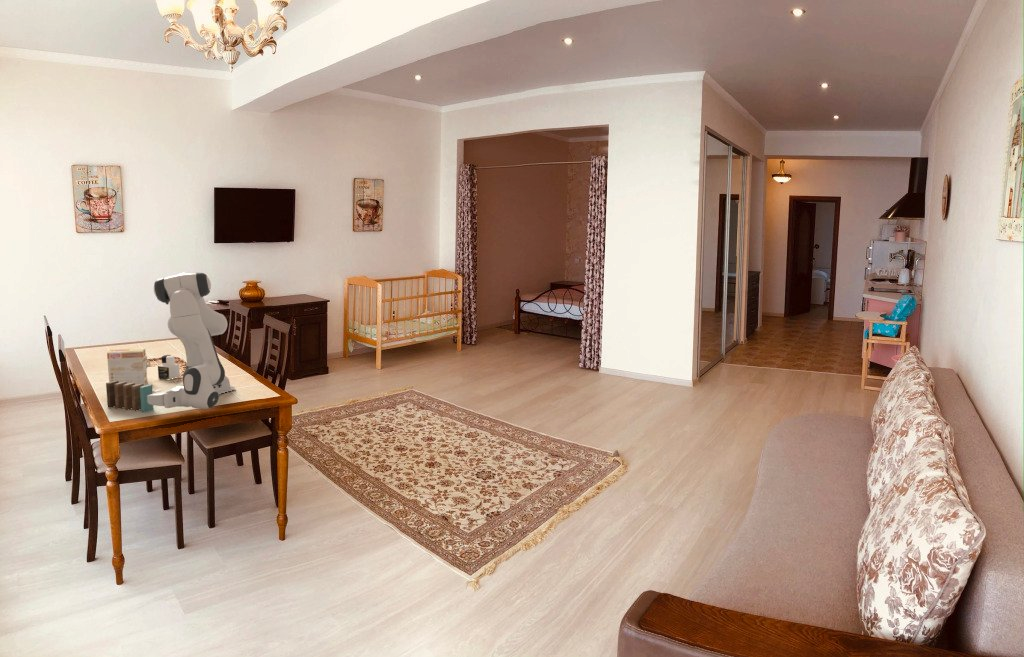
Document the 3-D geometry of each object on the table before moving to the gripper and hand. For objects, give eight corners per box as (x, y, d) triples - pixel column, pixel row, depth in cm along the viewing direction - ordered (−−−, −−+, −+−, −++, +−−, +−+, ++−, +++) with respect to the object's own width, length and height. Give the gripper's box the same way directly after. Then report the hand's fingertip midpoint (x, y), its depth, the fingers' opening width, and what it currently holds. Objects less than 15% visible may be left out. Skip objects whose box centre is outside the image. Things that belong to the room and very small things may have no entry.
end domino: (120, 404, 297) (118, 380, 295) (110, 407, 292) (108, 383, 290) (117, 404, 297) (115, 380, 295) (107, 407, 292) (105, 383, 291)
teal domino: (153, 409, 292) (152, 384, 290) (144, 412, 287) (142, 387, 285) (150, 408, 292) (149, 384, 291) (141, 411, 288) (139, 387, 286)
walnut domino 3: (145, 408, 293) (143, 383, 291) (135, 411, 288) (134, 386, 287) (142, 407, 294) (140, 383, 292) (132, 410, 289) (131, 386, 287)
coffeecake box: (148, 387, 326) (145, 348, 323) (145, 391, 320) (142, 351, 316) (113, 389, 322) (110, 349, 318) (109, 393, 315) (106, 352, 312)
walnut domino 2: (136, 407, 294) (135, 382, 293) (127, 410, 290) (125, 385, 288) (133, 406, 295) (132, 382, 293) (124, 409, 290) (122, 385, 288)
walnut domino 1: (128, 405, 296) (126, 381, 294) (118, 408, 291) (117, 384, 289) (125, 405, 296) (123, 381, 294) (116, 408, 291) (114, 384, 289)
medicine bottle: (158, 379, 343) (156, 356, 341) (169, 376, 349) (168, 353, 347) (169, 380, 341) (167, 357, 339) (180, 377, 347) (178, 354, 345)
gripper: (199, 383, 293) (173, 380, 296) (163, 394, 273) (136, 391, 277) (200, 397, 294) (174, 393, 298) (164, 409, 274) (137, 405, 278)
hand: (155, 392), depth 287 cm, fingers closed
